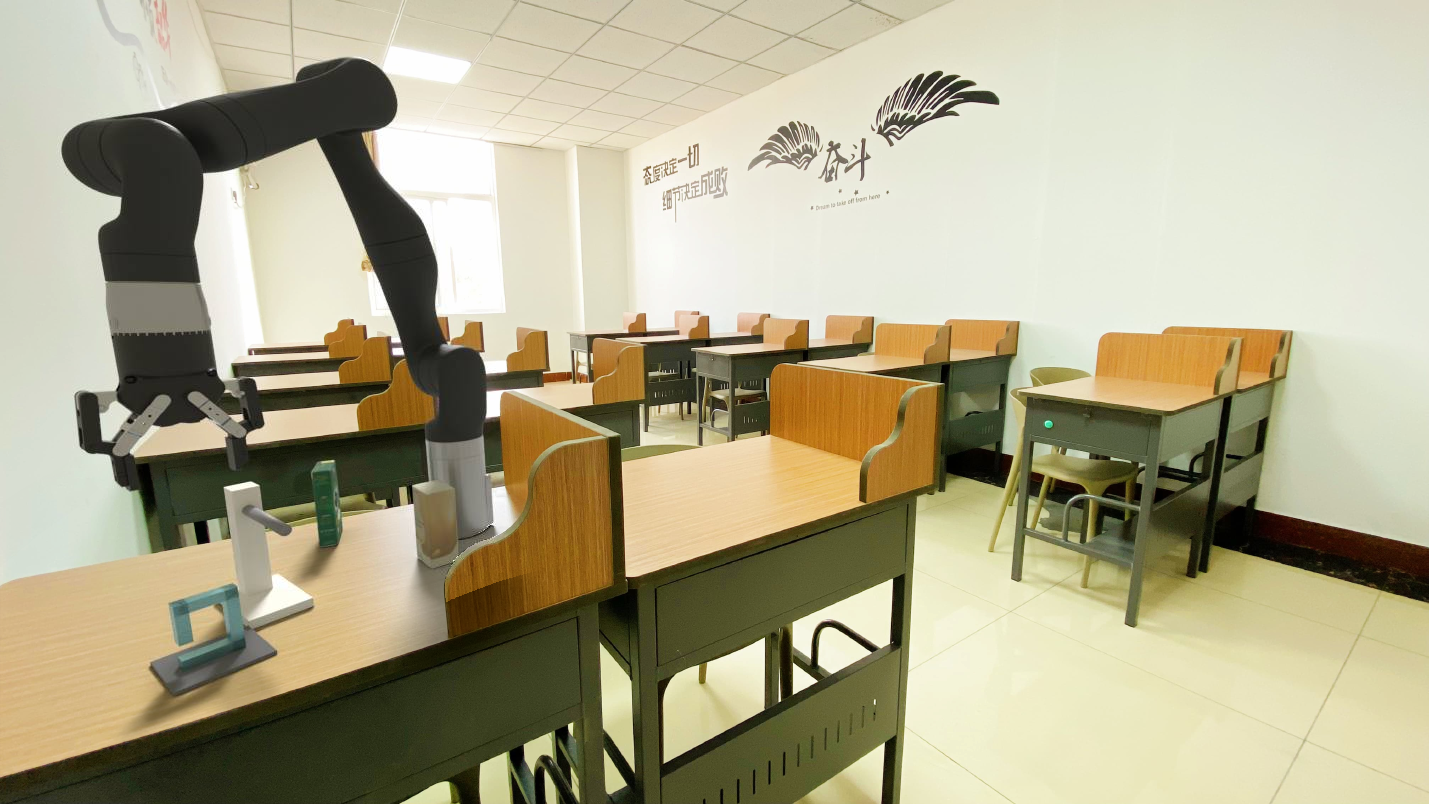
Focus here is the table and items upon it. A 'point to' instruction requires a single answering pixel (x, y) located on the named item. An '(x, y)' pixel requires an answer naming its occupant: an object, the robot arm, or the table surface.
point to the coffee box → (327, 503)
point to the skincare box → (435, 523)
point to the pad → (211, 663)
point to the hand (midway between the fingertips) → (187, 478)
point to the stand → (258, 559)
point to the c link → (232, 622)
